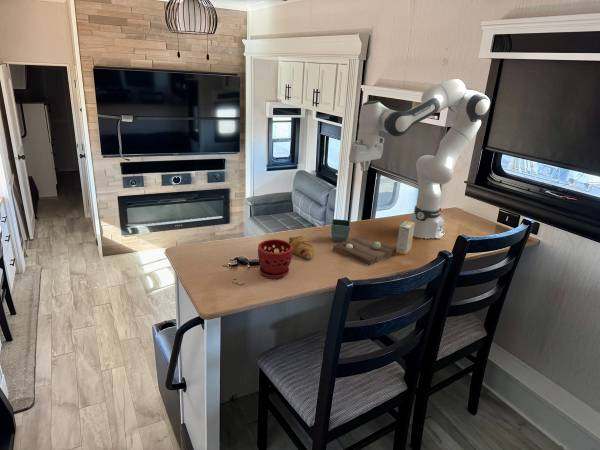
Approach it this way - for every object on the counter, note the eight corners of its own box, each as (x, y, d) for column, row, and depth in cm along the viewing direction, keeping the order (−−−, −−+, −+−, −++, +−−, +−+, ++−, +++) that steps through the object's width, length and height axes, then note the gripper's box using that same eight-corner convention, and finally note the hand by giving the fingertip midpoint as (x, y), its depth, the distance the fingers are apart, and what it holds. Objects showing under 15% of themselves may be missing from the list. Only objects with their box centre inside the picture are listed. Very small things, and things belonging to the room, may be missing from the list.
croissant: (316, 267, 176) (325, 251, 175) (298, 261, 170) (307, 244, 170) (295, 248, 194) (303, 233, 193) (278, 241, 188) (286, 225, 187)
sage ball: (375, 246, 185) (376, 239, 184) (382, 249, 183) (382, 242, 182) (371, 248, 183) (372, 241, 181) (377, 251, 180) (378, 244, 179)
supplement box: (401, 246, 193) (404, 220, 188) (411, 249, 191) (415, 222, 186) (395, 252, 186) (399, 225, 182) (405, 255, 184) (409, 227, 179)
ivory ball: (346, 250, 187) (349, 243, 188) (352, 253, 185) (355, 246, 185) (343, 248, 185) (346, 241, 185) (349, 251, 182) (352, 244, 183)
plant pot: (250, 272, 161) (250, 244, 157) (276, 263, 170) (276, 236, 166) (272, 285, 153) (273, 255, 149) (298, 274, 161) (299, 246, 157)
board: (357, 240, 197) (357, 235, 196) (393, 254, 184) (393, 249, 184) (332, 250, 185) (333, 245, 184) (369, 265, 172) (370, 260, 171)
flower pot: (348, 237, 201) (350, 220, 198) (348, 244, 193) (350, 226, 190) (330, 236, 202) (331, 218, 199) (329, 242, 193) (331, 224, 190)
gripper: (358, 142, 172) (355, 175, 176) (386, 138, 186) (383, 169, 190) (347, 140, 176) (344, 172, 181) (375, 136, 190) (371, 166, 194)
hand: (364, 170), depth 186 cm, fingers closed
